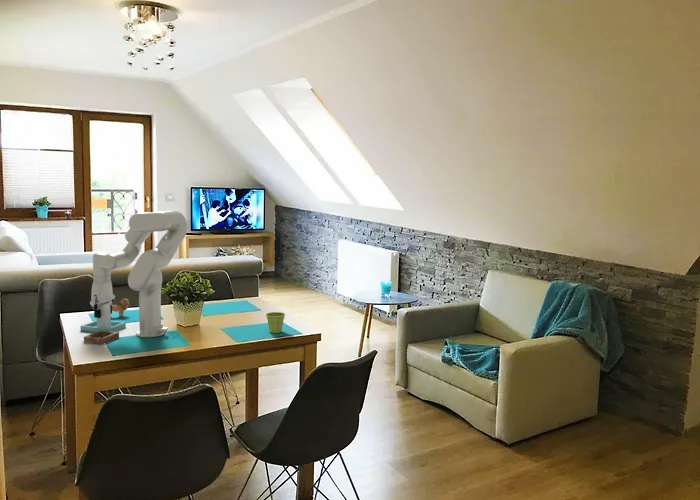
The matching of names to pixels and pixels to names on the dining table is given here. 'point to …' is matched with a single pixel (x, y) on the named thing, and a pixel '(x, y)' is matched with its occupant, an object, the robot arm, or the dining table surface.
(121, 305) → the lion figurine
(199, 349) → the dining table surface
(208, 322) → the dining table surface
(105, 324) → the skincare box
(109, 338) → the holder collar
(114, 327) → the tray
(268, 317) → the plant pot
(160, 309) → the robot arm
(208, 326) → the dining table surface
